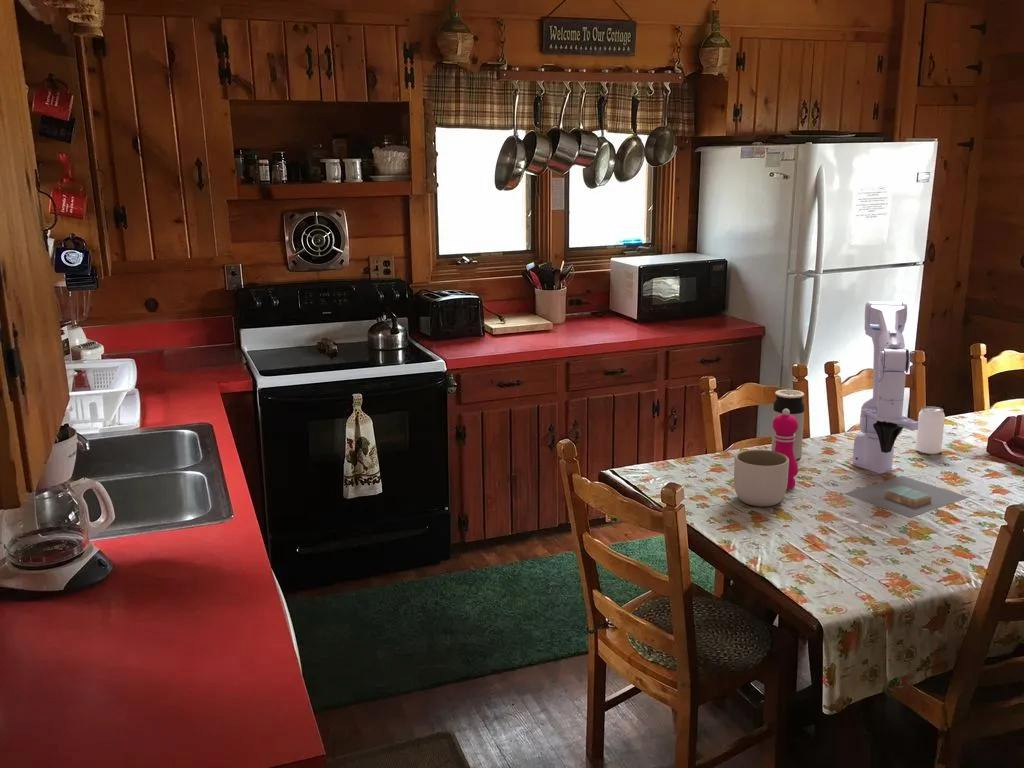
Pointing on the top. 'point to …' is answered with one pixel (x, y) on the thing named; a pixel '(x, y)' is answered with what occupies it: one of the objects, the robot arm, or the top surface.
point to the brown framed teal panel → (908, 496)
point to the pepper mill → (786, 441)
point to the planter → (760, 477)
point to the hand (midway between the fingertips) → (886, 451)
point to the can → (930, 430)
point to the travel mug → (796, 408)
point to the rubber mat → (877, 497)
